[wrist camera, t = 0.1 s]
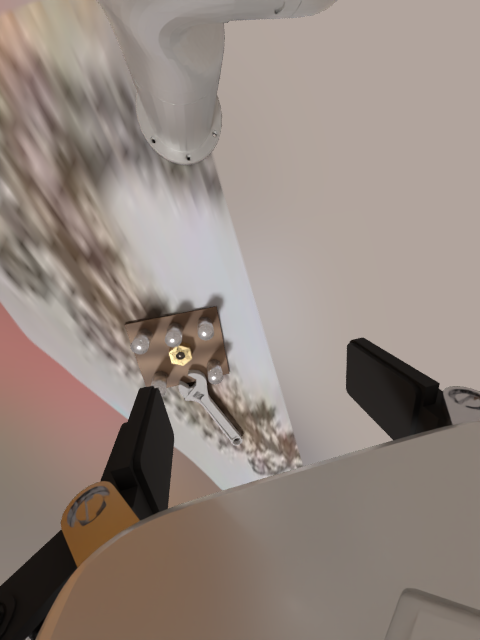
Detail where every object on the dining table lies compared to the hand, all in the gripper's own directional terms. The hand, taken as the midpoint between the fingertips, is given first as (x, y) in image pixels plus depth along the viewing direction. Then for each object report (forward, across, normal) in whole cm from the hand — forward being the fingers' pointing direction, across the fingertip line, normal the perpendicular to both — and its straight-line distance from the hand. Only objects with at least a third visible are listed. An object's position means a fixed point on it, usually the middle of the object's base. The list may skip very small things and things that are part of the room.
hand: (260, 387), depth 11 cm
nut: (+36, +9, +15) cm, 40 cm away
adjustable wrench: (+37, +6, +32) cm, 49 cm away
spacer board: (+37, +9, +15) cm, 41 cm away
